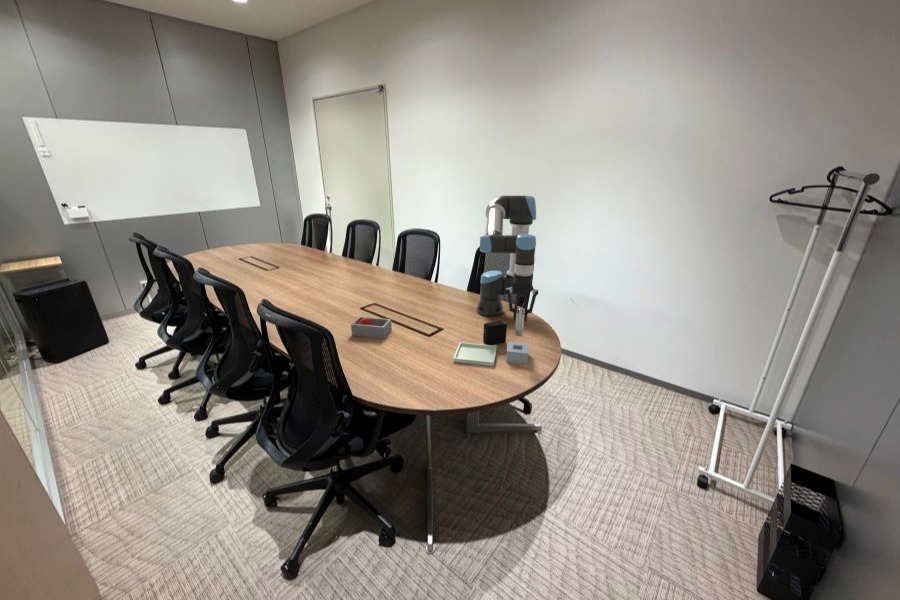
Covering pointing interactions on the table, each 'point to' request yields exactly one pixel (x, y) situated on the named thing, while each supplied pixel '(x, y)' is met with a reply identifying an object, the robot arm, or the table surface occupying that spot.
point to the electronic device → (494, 333)
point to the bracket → (365, 322)
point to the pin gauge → (519, 322)
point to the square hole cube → (517, 352)
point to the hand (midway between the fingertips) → (519, 327)
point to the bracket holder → (372, 327)
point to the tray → (475, 354)
